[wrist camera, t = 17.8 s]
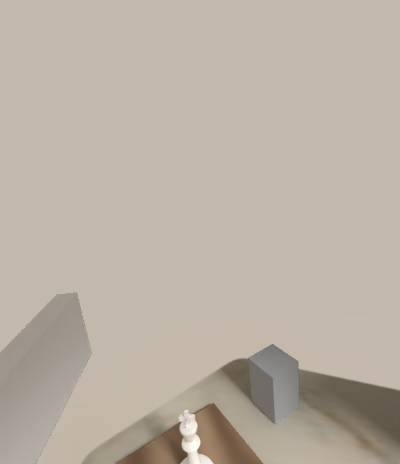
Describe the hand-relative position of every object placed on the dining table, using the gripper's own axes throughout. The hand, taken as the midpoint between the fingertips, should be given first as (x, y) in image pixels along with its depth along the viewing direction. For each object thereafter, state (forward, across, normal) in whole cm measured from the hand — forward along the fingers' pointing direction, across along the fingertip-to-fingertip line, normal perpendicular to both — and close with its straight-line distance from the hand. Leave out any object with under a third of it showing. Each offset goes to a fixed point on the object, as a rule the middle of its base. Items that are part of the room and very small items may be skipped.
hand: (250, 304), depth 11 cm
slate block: (+25, +7, -32) cm, 41 cm away
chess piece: (+15, -5, -31) cm, 35 cm away
